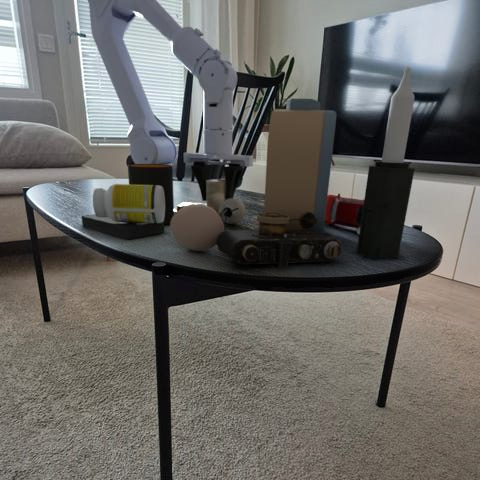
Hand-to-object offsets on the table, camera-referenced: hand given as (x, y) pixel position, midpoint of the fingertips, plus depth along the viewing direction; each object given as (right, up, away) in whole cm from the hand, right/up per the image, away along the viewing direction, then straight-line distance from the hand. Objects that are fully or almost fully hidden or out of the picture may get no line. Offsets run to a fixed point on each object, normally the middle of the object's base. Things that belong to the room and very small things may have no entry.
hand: (217, 201), depth 88 cm
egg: (+2, -12, -28) cm, 31 cm away
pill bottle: (-8, -6, -17) cm, 20 cm away
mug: (-12, -5, -3) cm, 13 cm away
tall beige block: (+15, -9, -11) cm, 21 cm away
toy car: (+27, -4, -5) cm, 28 cm away
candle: (+26, -15, -23) cm, 38 cm away
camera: (+9, -12, -26) cm, 30 cm away
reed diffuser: (+1, -9, -11) cm, 14 cm away
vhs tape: (-16, -9, -12) cm, 22 cm away
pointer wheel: (0, -1, 0) cm, 1 cm away
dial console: (-2, -3, +2) cm, 4 cm away
